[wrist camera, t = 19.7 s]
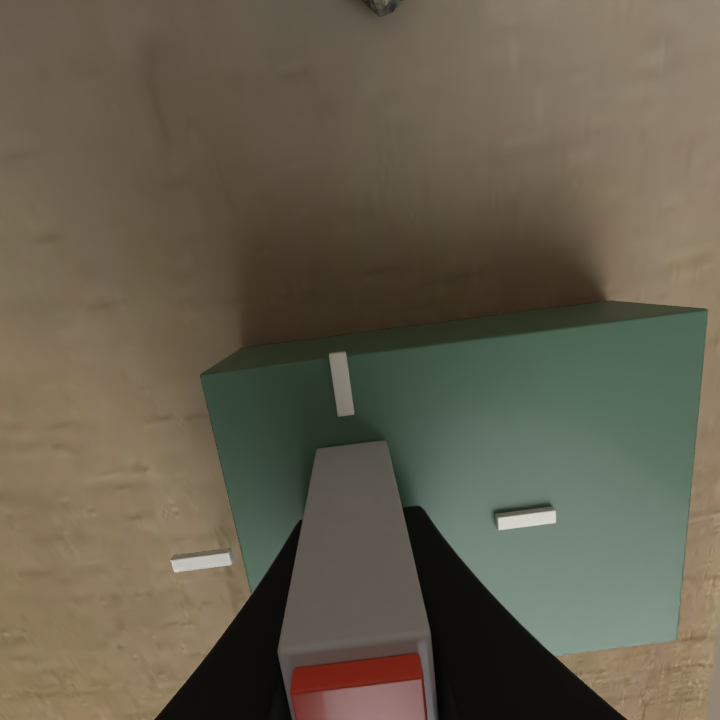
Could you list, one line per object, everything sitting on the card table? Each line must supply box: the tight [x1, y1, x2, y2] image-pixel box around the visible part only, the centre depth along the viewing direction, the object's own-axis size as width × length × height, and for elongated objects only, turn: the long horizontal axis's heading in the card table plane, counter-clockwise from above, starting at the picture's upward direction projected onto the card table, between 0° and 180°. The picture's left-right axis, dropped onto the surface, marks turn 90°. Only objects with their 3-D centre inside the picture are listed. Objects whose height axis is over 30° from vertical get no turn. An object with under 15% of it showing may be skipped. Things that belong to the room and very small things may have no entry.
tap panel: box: [170, 301, 708, 656], centre depth 10 cm, size 13×9×3 cm
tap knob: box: [277, 440, 439, 720], centre depth 6 cm, size 5×2×5 cm, turn 7°
